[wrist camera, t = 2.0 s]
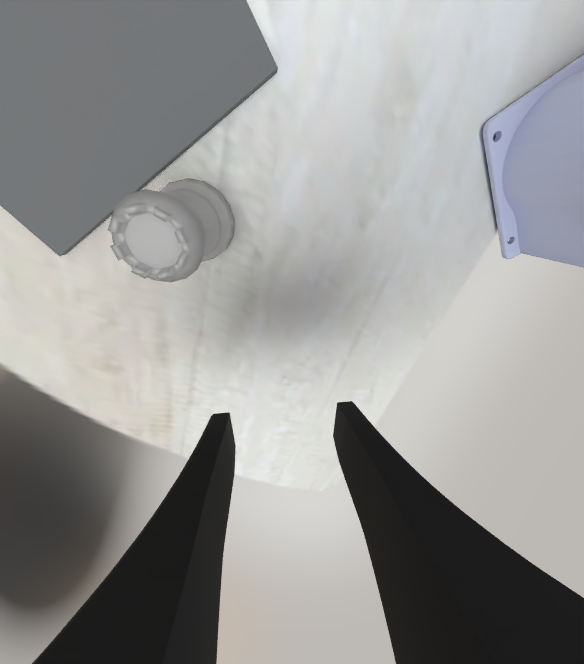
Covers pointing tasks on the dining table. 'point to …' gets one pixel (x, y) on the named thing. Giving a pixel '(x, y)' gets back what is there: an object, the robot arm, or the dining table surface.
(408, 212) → the dining table surface
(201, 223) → the rook chess piece
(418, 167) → the dining table surface
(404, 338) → the dining table surface
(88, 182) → the mat
